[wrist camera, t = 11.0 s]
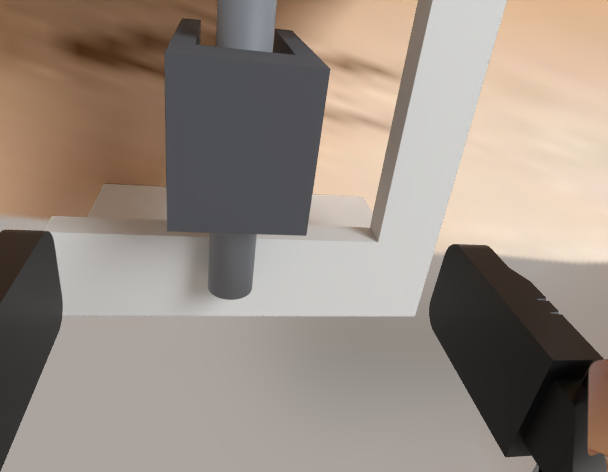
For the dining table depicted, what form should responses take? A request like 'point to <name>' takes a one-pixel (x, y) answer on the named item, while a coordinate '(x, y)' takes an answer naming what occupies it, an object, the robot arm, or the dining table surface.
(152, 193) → the white channel bracket
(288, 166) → the gray u-channel post
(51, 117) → the dining table surface
